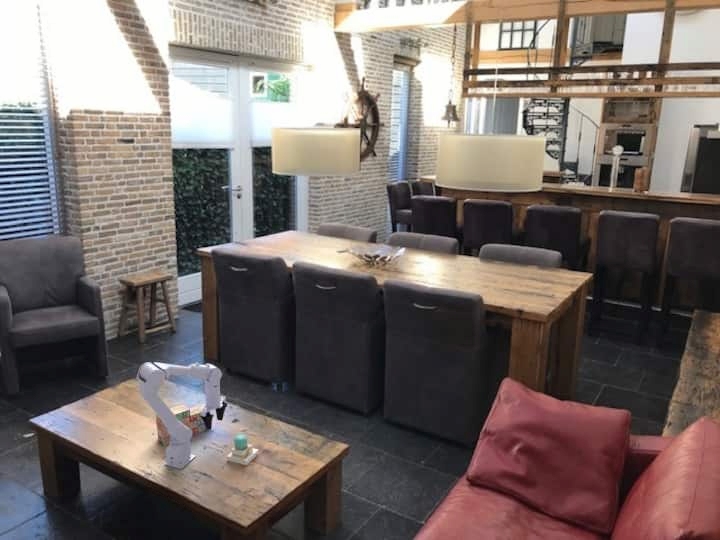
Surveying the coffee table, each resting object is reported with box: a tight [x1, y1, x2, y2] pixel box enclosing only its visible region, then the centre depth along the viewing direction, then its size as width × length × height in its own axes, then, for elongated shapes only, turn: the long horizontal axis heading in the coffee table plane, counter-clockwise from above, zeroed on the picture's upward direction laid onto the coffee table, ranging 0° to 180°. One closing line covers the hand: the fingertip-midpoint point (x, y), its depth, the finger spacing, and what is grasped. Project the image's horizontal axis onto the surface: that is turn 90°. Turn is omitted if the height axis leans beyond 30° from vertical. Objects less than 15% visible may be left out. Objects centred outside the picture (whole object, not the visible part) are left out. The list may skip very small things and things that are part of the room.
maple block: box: [230, 443, 254, 458], centre depth 237 cm, size 6×6×2 cm
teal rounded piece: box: [233, 434, 249, 450], centre depth 237 cm, size 5×5×4 cm
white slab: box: [226, 447, 260, 466], centre depth 238 cm, size 9×9×2 cm
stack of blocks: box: [155, 403, 211, 446], centre depth 253 cm, size 21×6×12 cm, turn 132°
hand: (214, 424), depth 243 cm, fingers open, 7 cm apart
